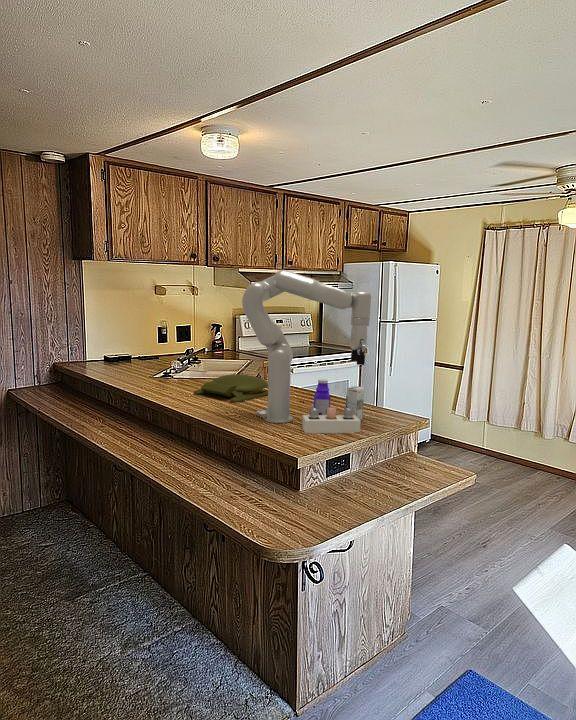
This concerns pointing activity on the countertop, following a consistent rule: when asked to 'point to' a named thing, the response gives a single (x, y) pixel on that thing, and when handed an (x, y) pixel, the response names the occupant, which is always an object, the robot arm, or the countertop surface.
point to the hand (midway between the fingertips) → (357, 362)
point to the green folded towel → (235, 387)
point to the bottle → (322, 396)
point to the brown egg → (331, 413)
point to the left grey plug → (314, 413)
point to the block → (330, 424)
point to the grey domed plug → (348, 413)
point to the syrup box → (355, 400)
